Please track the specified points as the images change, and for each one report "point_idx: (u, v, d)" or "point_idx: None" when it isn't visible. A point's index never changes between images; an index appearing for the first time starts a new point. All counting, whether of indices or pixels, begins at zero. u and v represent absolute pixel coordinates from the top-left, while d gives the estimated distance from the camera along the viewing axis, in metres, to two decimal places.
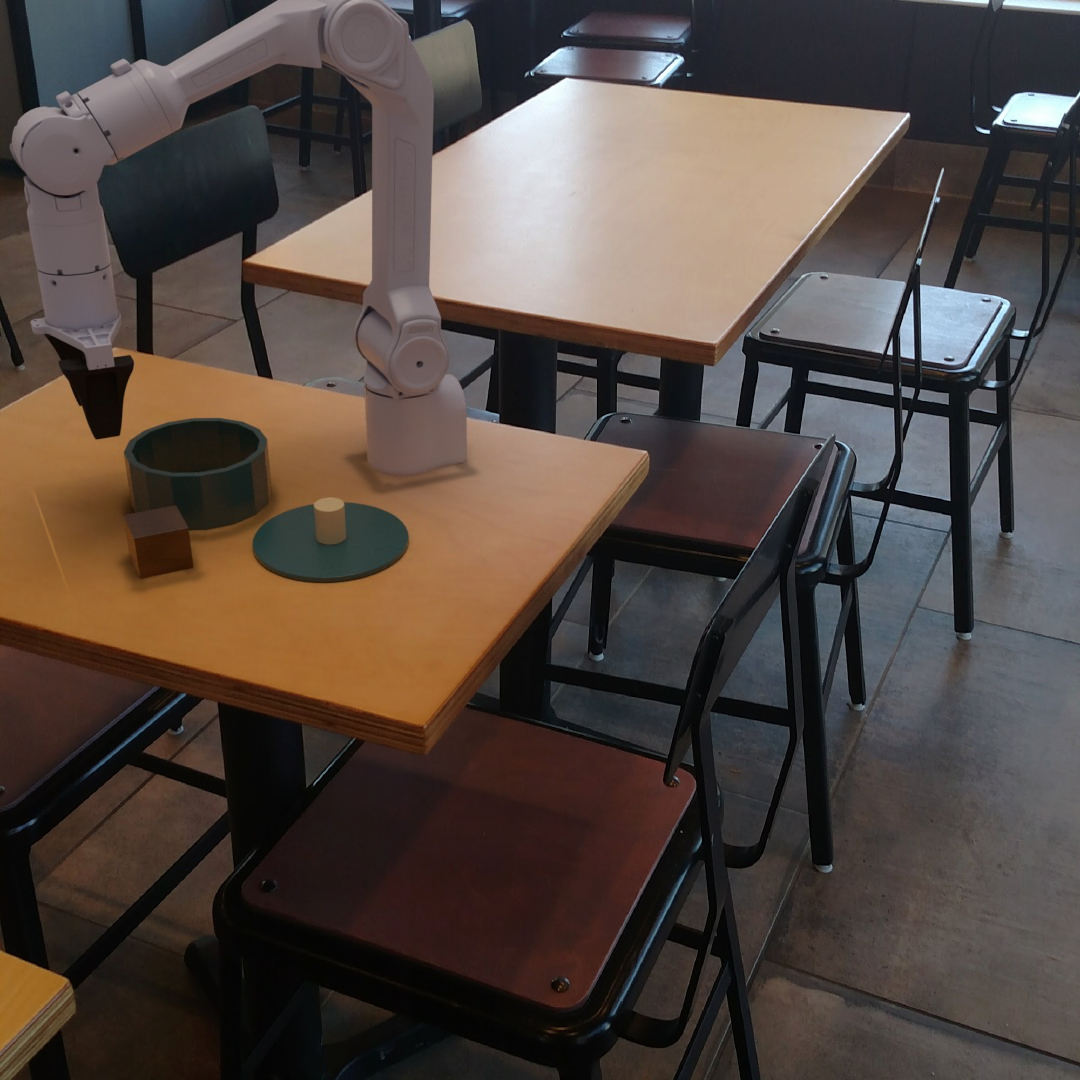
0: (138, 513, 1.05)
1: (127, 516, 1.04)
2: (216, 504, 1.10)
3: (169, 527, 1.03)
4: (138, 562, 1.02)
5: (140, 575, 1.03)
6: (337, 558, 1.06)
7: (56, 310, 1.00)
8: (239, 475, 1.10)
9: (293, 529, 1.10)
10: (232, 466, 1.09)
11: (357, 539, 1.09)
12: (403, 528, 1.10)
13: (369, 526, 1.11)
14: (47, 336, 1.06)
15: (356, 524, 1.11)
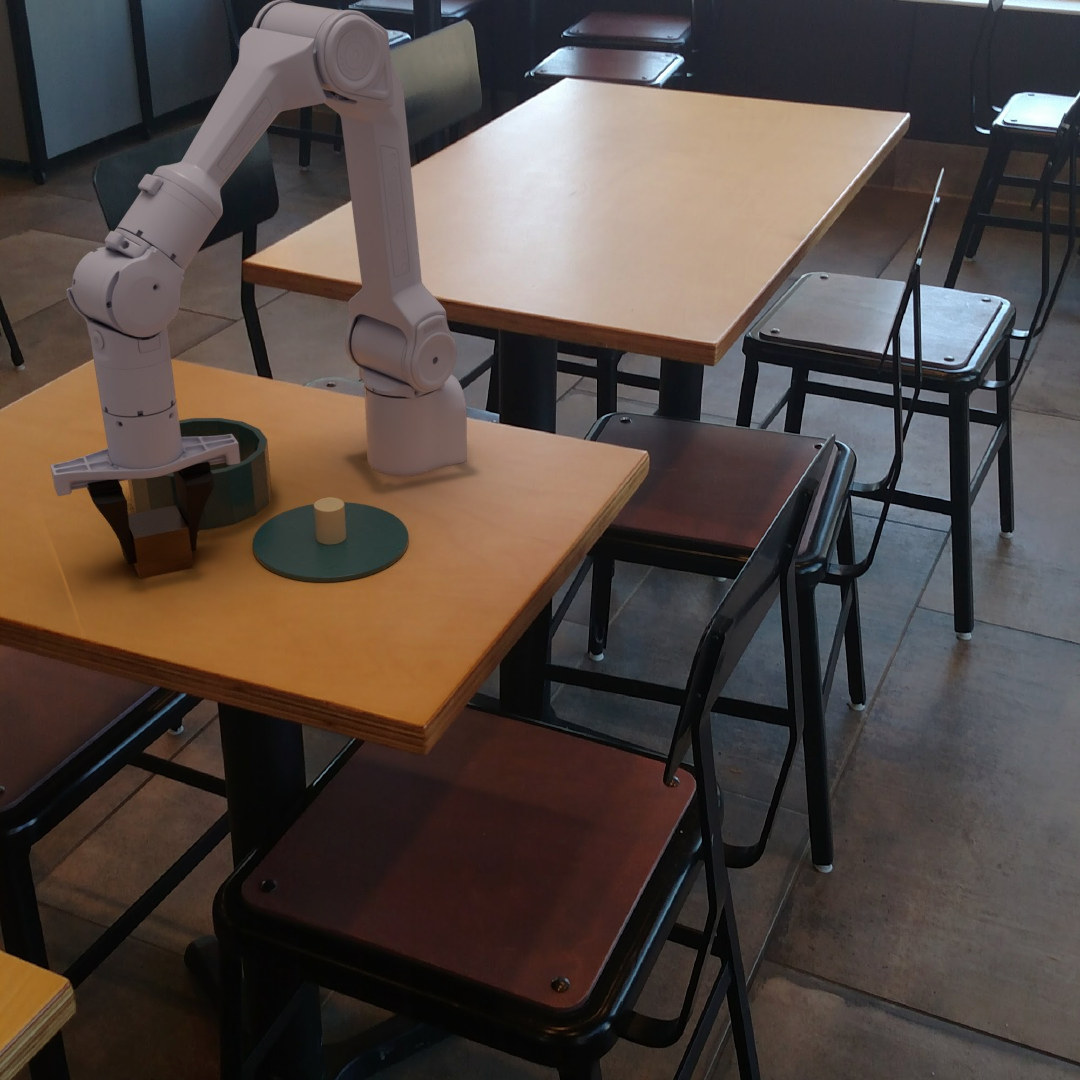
0: (138, 513, 1.05)
1: None
2: (216, 504, 1.10)
3: (169, 527, 1.03)
4: (138, 562, 1.02)
5: (140, 575, 1.03)
6: (337, 558, 1.06)
7: None
8: (239, 475, 1.10)
9: (293, 529, 1.10)
10: (232, 466, 1.09)
11: (357, 539, 1.09)
12: (403, 528, 1.10)
13: (369, 526, 1.11)
14: None
15: (356, 524, 1.11)
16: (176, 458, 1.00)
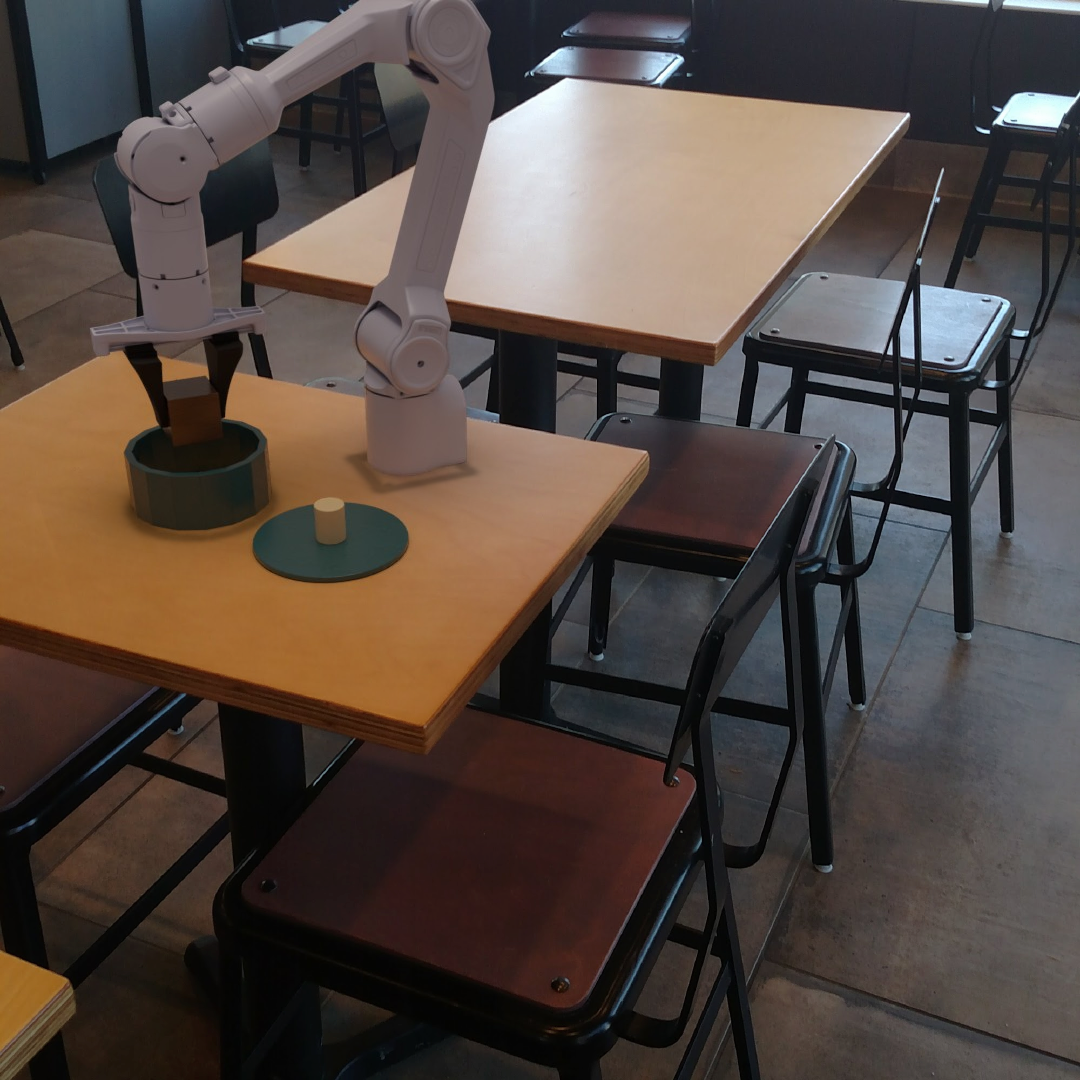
0: (170, 381, 1.11)
1: None
2: (216, 504, 1.10)
3: (200, 392, 1.09)
4: (171, 424, 1.08)
5: (173, 438, 1.09)
6: (337, 558, 1.06)
7: None
8: (239, 475, 1.10)
9: (293, 529, 1.10)
10: (232, 466, 1.09)
11: (357, 539, 1.09)
12: (403, 528, 1.10)
13: (369, 526, 1.11)
14: None
15: (356, 524, 1.11)
16: (208, 323, 1.06)
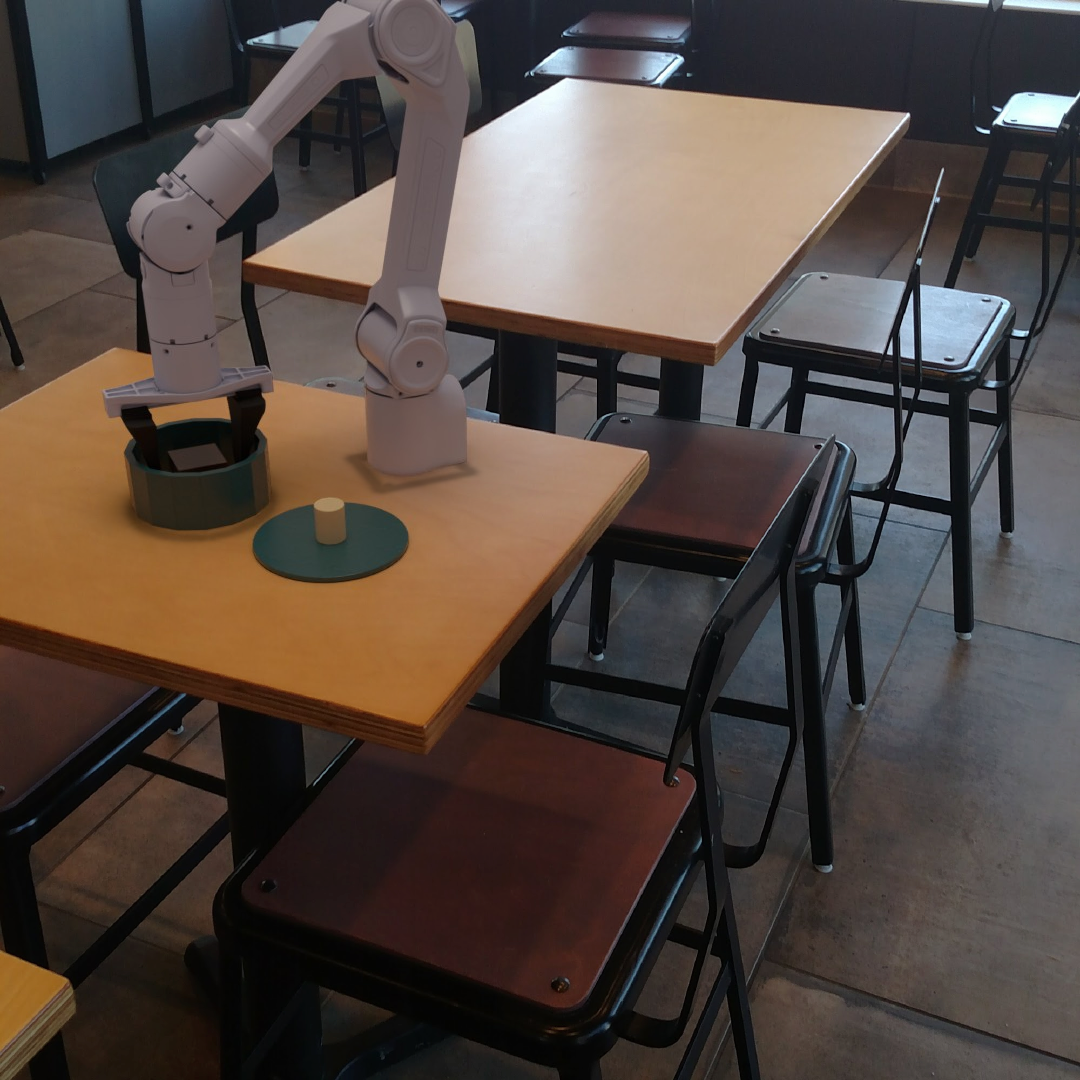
0: (181, 450, 1.15)
1: (171, 452, 1.14)
2: (216, 504, 1.10)
3: (210, 461, 1.13)
4: None
5: None
6: (337, 558, 1.06)
7: None
8: (239, 475, 1.10)
9: (293, 529, 1.10)
10: (232, 466, 1.09)
11: (357, 539, 1.09)
12: (403, 528, 1.10)
13: (369, 526, 1.11)
14: None
15: (356, 524, 1.11)
16: (216, 385, 1.09)
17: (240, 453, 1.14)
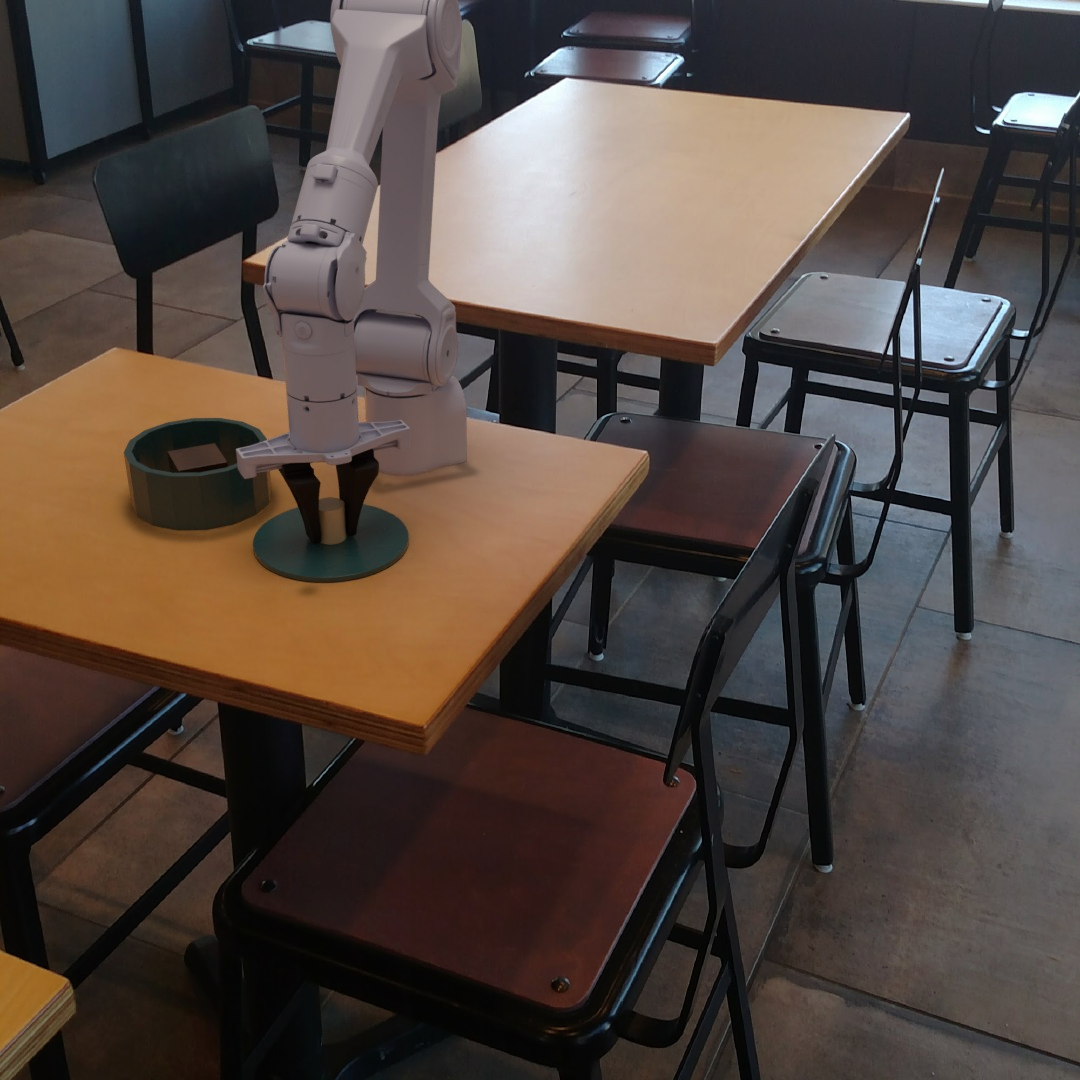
0: (181, 450, 1.15)
1: (171, 452, 1.14)
2: (216, 504, 1.10)
3: (210, 461, 1.13)
4: None
5: None
6: (337, 558, 1.06)
7: (354, 427, 1.02)
8: (239, 475, 1.10)
9: (293, 529, 1.10)
10: (232, 466, 1.09)
11: (357, 539, 1.09)
12: (403, 528, 1.10)
13: (369, 526, 1.11)
14: (319, 481, 1.03)
15: None
16: None
17: None
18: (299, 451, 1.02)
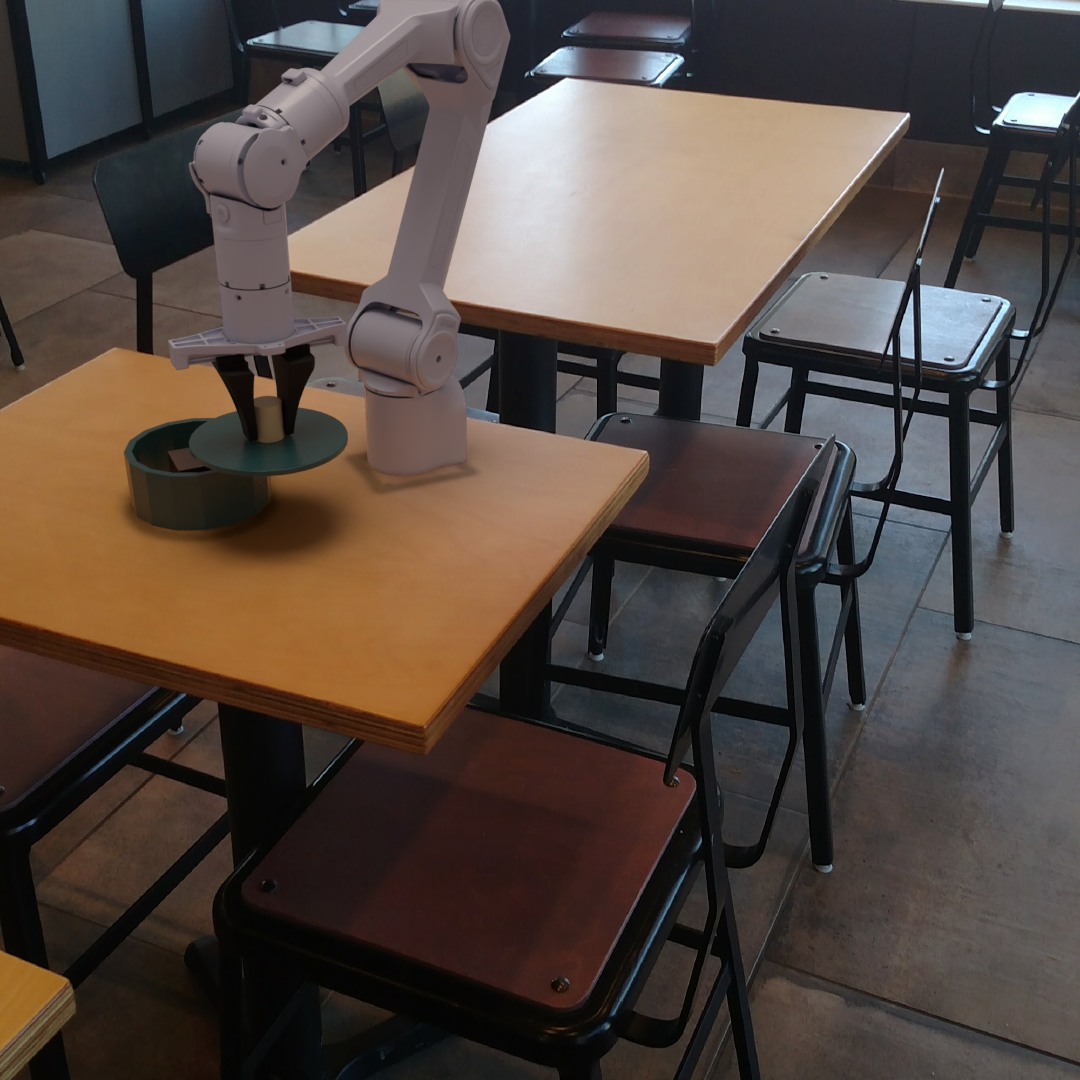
0: (181, 450, 1.15)
1: (171, 452, 1.14)
2: (216, 504, 1.10)
3: None
4: None
5: None
6: (274, 454, 1.04)
7: (288, 318, 1.01)
8: None
9: (231, 429, 1.09)
10: None
11: (295, 438, 1.07)
12: (343, 429, 1.09)
13: (308, 427, 1.09)
14: (253, 374, 1.02)
15: (295, 425, 1.10)
16: None
17: None
18: (232, 342, 1.01)
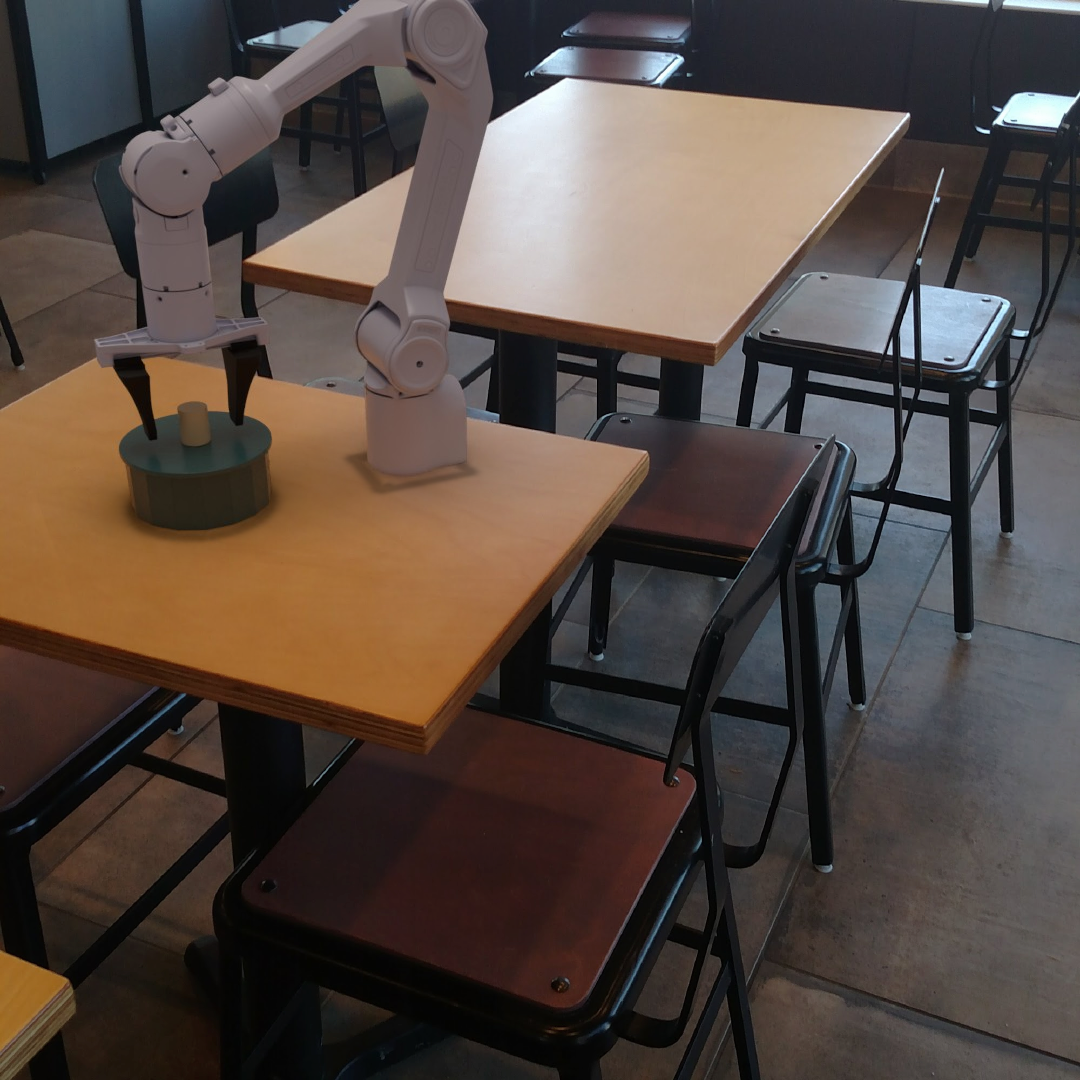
0: None
1: None
2: (216, 504, 1.10)
3: None
4: None
5: None
6: (198, 457, 1.10)
7: (209, 319, 1.06)
8: (239, 475, 1.10)
9: (161, 433, 1.14)
10: None
11: (221, 442, 1.13)
12: (267, 433, 1.15)
13: (235, 431, 1.15)
14: None
15: (223, 429, 1.15)
16: None
17: None
18: (155, 341, 1.06)
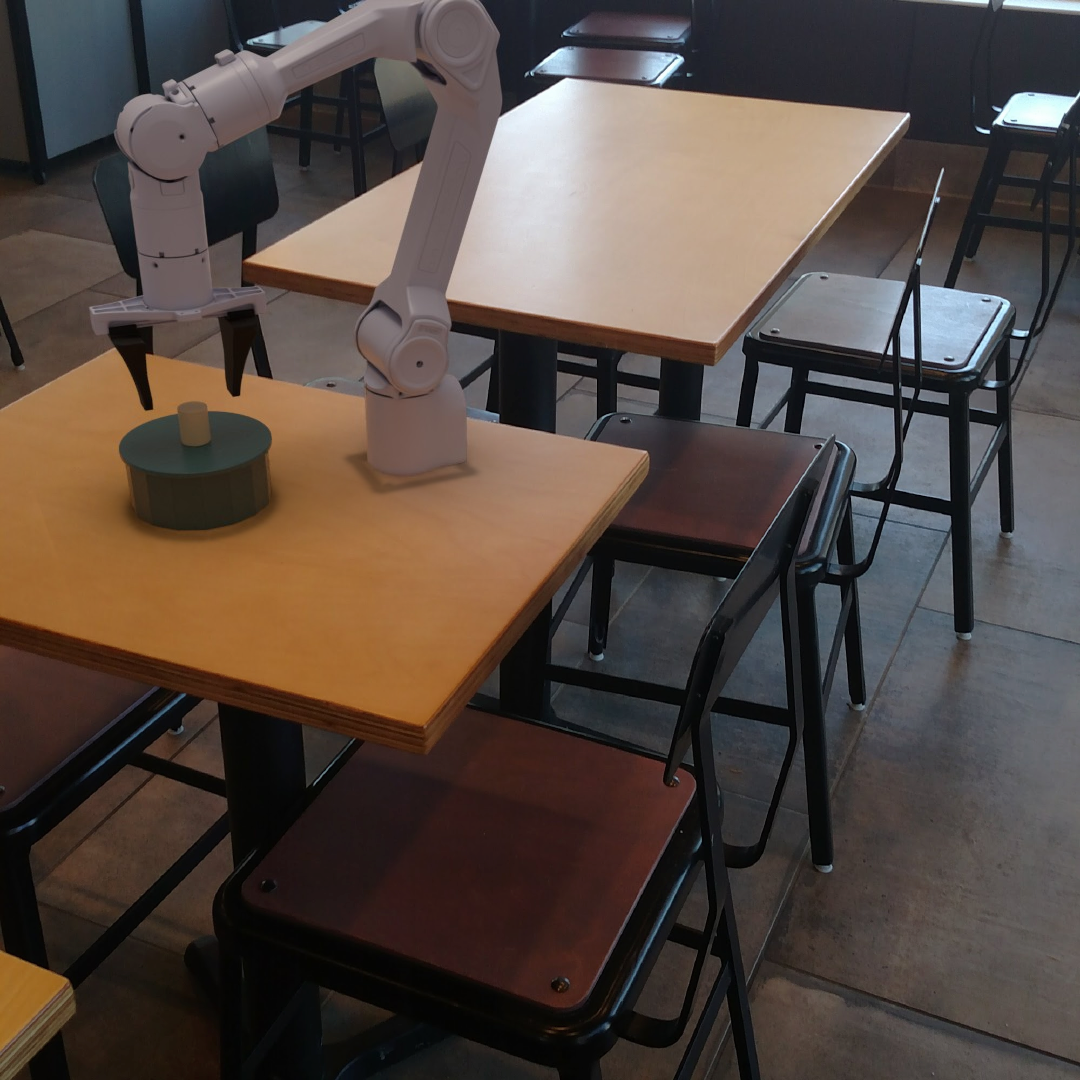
0: None
1: None
2: (216, 504, 1.10)
3: None
4: None
5: None
6: (198, 457, 1.10)
7: (205, 286, 1.05)
8: (239, 475, 1.10)
9: (161, 433, 1.14)
10: None
11: (221, 442, 1.13)
12: (267, 433, 1.15)
13: (235, 431, 1.15)
14: (144, 343, 1.04)
15: (223, 429, 1.15)
16: None
17: None
18: (151, 309, 1.04)
